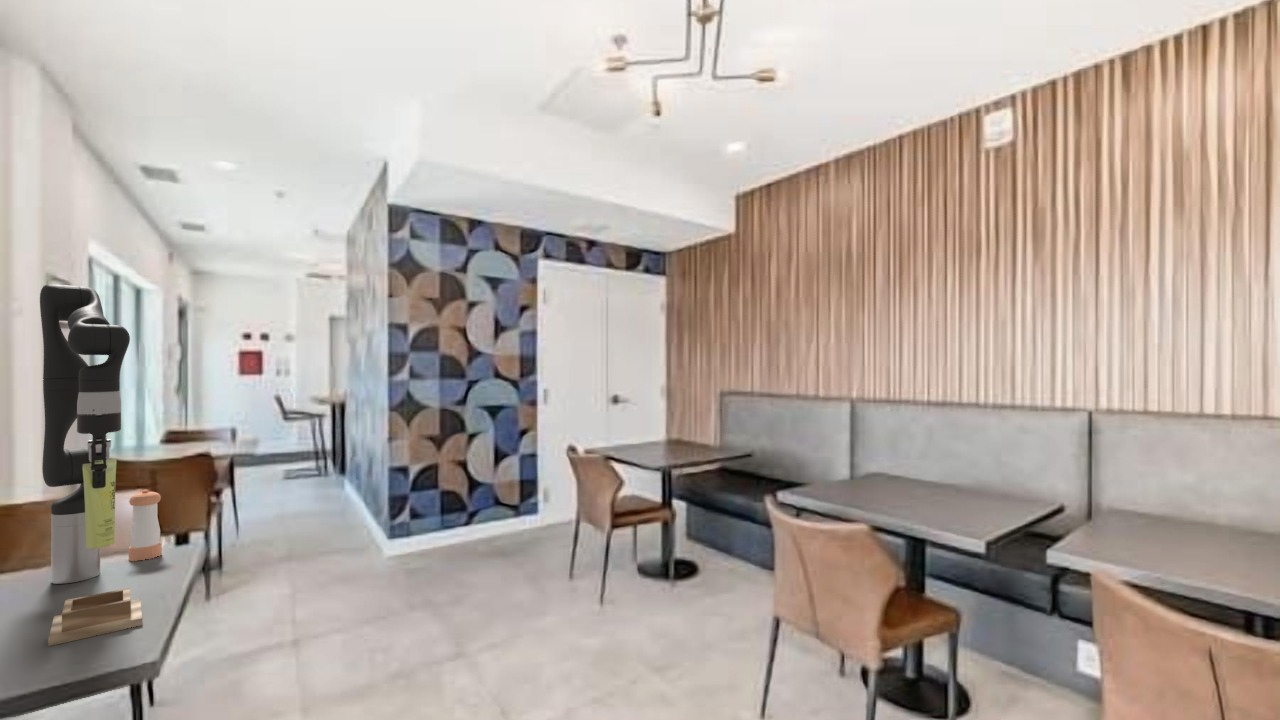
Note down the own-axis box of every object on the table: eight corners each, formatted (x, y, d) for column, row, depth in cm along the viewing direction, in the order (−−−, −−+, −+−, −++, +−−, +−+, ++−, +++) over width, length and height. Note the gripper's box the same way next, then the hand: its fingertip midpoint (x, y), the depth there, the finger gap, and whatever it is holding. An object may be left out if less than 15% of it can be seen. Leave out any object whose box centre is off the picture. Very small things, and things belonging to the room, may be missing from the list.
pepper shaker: (122, 562, 168) (122, 492, 168) (139, 554, 175) (139, 487, 175) (151, 560, 169) (151, 491, 169) (167, 552, 176) (167, 486, 176)
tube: (112, 547, 137) (112, 461, 137) (82, 551, 134) (82, 463, 134) (116, 541, 142) (116, 458, 142) (87, 545, 139) (87, 460, 139)
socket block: (54, 623, 127) (54, 599, 127) (140, 605, 136) (140, 583, 136) (48, 646, 117) (48, 620, 117) (142, 625, 126) (142, 601, 126)
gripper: (78, 410, 141) (78, 483, 141) (75, 414, 130) (75, 493, 130) (121, 409, 146) (121, 479, 146) (121, 412, 135) (121, 488, 135)
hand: (99, 485), depth 138 cm, fingers closed on tube, 4 cm apart
